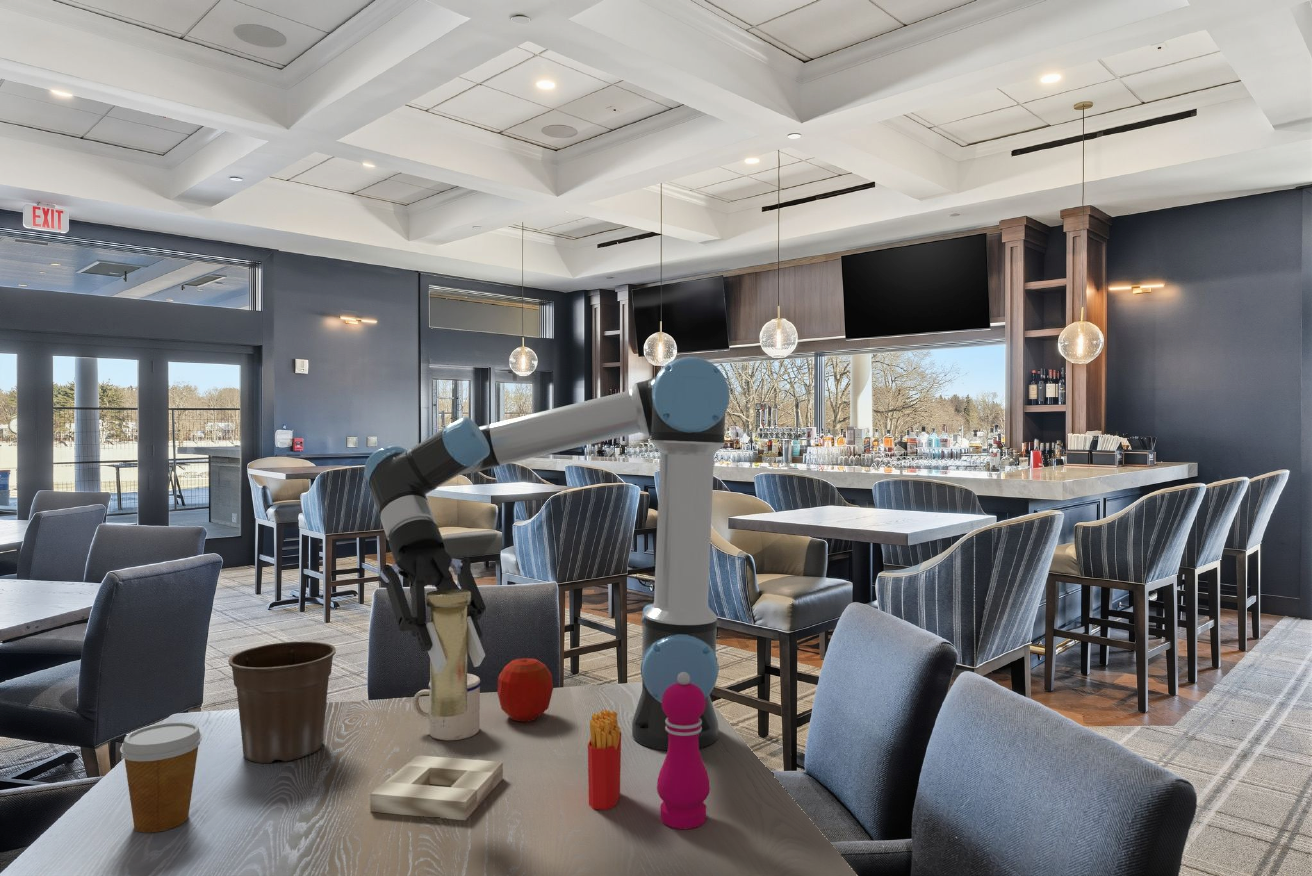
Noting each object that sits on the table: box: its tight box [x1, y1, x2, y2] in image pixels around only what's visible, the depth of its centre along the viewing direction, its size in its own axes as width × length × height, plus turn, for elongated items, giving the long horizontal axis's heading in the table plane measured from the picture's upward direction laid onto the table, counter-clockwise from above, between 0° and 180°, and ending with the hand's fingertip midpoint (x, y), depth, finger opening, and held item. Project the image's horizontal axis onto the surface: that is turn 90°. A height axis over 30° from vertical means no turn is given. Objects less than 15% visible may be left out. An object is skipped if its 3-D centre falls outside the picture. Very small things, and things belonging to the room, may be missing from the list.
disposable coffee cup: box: [119, 721, 203, 834], centre depth 110 cm, size 10×10×12 cm
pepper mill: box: [656, 672, 711, 830], centre depth 111 cm, size 7×7×20 cm
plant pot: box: [227, 641, 337, 764], centre depth 135 cm, size 16×16×16 cm
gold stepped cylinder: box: [426, 588, 471, 717], centre depth 114 cm, size 6×6×16 cm
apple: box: [496, 655, 554, 723], centre depth 152 cm, size 10×10×12 cm
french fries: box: [587, 709, 622, 811], centre depth 117 cm, size 8×4×12 cm, turn 170°
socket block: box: [369, 755, 504, 821], centre depth 119 cm, size 14×14×2 cm
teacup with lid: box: [412, 672, 482, 741], centre depth 144 cm, size 12×9×12 cm
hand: (460, 664), depth 111 cm, fingers closed on gold stepped cylinder, 5 cm apart
